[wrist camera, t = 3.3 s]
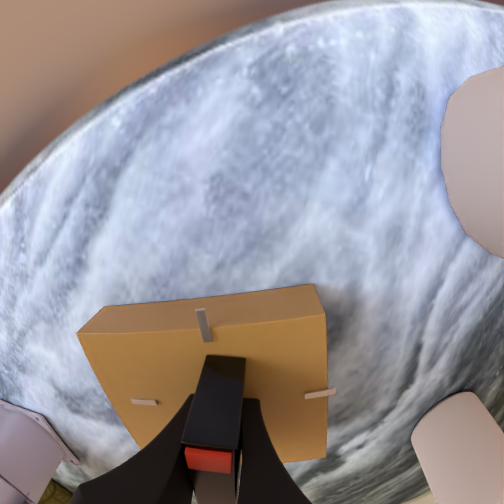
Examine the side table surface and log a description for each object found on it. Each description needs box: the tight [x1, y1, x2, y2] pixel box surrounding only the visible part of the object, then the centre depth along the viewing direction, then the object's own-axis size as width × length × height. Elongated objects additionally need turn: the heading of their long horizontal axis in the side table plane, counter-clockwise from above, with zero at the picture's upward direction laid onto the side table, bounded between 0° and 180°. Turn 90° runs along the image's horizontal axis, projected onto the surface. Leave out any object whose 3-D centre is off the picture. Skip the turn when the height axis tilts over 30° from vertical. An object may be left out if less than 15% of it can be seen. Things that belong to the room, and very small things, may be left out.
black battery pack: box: [181, 355, 246, 504], centre depth 9 cm, size 6×2×5 cm, turn 177°
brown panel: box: [76, 284, 336, 465], centre depth 13 cm, size 11×11×3 cm
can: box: [411, 392, 504, 504], centre depth 10 cm, size 6×6×12 cm
